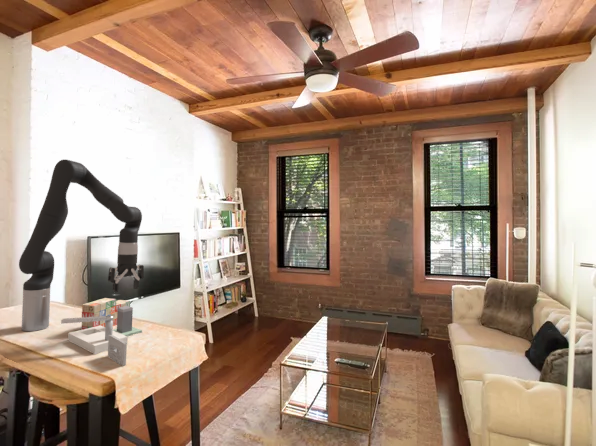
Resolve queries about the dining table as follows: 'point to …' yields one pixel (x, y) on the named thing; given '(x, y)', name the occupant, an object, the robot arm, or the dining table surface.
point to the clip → (87, 319)
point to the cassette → (117, 350)
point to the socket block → (95, 337)
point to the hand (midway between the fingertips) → (125, 290)
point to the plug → (124, 319)
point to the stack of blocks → (102, 311)
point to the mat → (134, 331)
